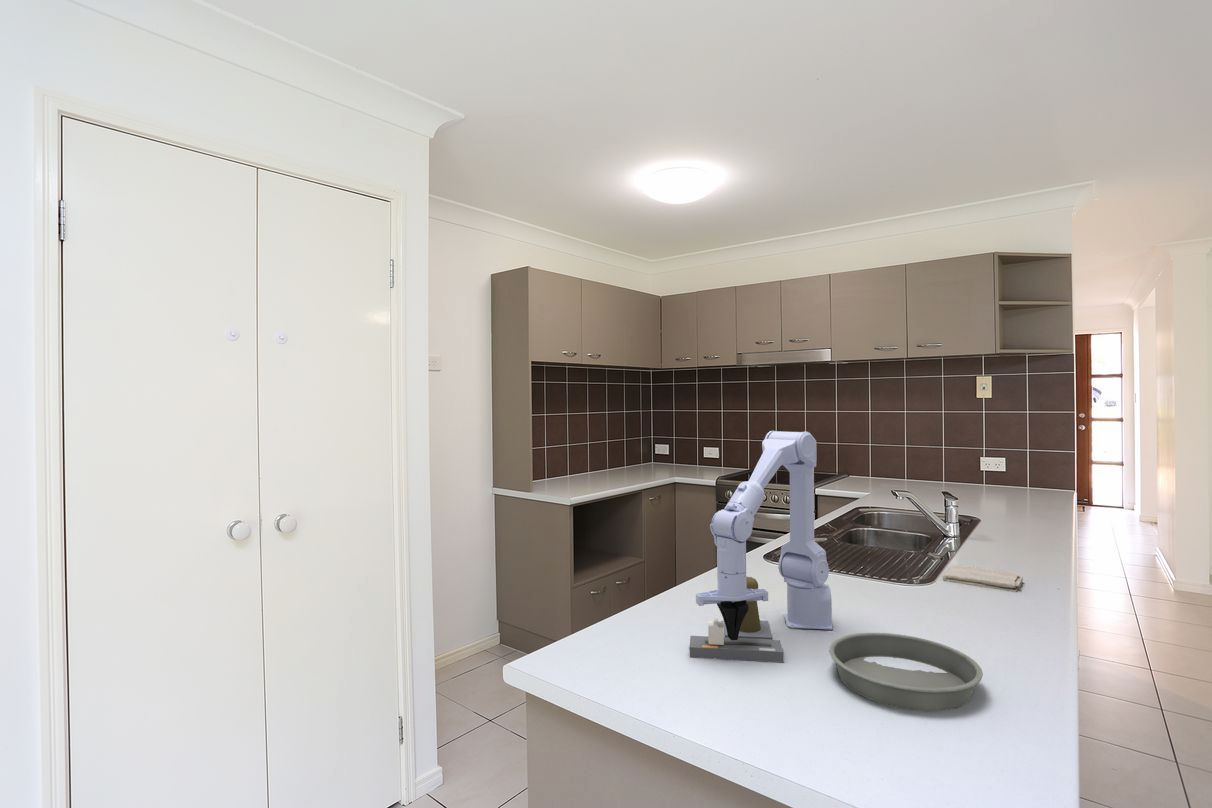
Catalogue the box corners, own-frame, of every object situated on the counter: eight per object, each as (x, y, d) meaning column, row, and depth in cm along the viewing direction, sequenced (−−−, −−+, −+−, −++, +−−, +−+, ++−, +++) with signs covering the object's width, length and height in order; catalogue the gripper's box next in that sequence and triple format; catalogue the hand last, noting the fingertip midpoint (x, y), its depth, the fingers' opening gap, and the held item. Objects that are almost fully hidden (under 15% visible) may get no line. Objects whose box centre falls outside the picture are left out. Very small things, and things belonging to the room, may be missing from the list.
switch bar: (780, 649, 123) (780, 639, 123) (783, 662, 117) (783, 651, 117) (690, 645, 126) (690, 635, 126) (689, 657, 120) (689, 646, 120)
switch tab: (723, 637, 124) (723, 618, 124) (723, 644, 120) (723, 624, 120) (708, 637, 124) (708, 617, 124) (708, 644, 121) (708, 624, 121)
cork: (761, 633, 131) (760, 582, 131) (732, 631, 132) (731, 581, 132) (760, 623, 137) (759, 574, 137) (733, 621, 138) (732, 573, 138)
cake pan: (1019, 703, 101) (1018, 676, 101) (897, 728, 94) (896, 699, 94) (906, 647, 124) (906, 625, 124) (802, 663, 117) (801, 640, 117)
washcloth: (1019, 595, 156) (1019, 583, 156) (941, 582, 168) (941, 571, 168) (1023, 583, 166) (1023, 572, 166) (949, 572, 177) (949, 562, 177)
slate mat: (768, 622, 138) (768, 620, 138) (772, 640, 128) (772, 637, 128) (723, 620, 140) (723, 618, 140) (724, 637, 130) (724, 635, 130)
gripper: (757, 563, 127) (758, 628, 127) (690, 567, 125) (691, 633, 125) (772, 572, 120) (773, 641, 120) (701, 577, 118) (702, 647, 118)
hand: (732, 638), depth 122 cm, fingers closed
